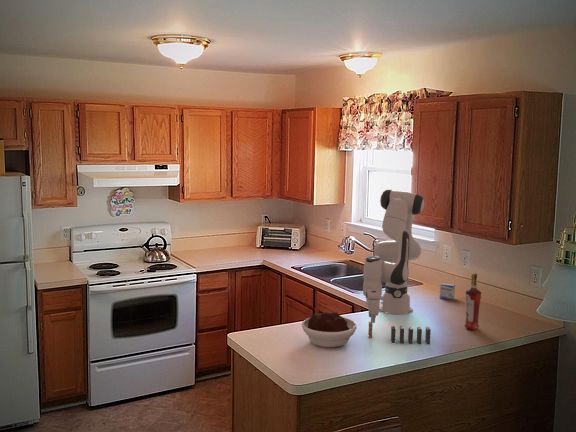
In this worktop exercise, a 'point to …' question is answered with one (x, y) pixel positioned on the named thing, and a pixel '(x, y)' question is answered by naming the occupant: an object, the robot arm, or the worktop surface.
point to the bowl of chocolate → (328, 329)
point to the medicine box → (447, 291)
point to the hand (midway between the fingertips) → (371, 319)
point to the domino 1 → (370, 330)
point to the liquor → (472, 305)
